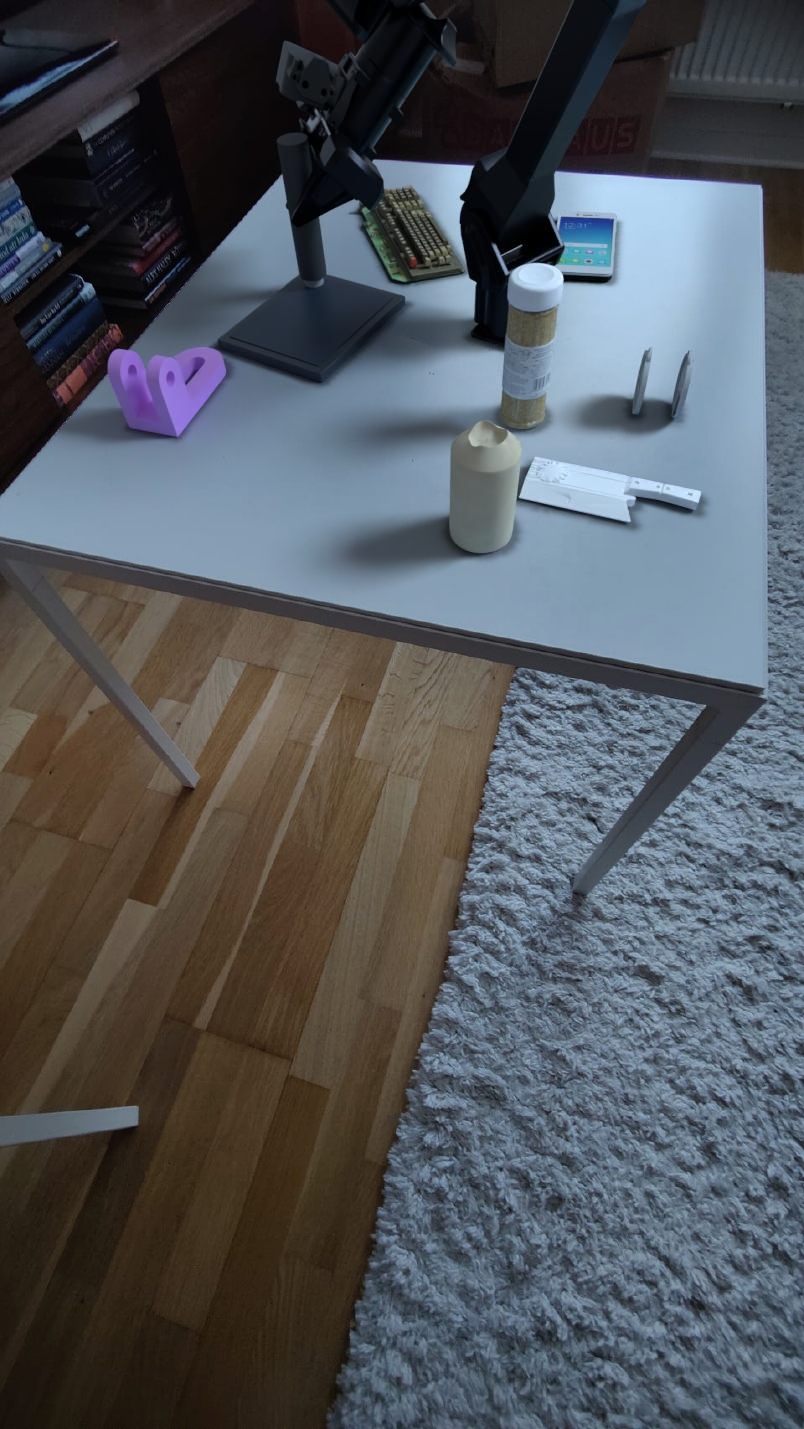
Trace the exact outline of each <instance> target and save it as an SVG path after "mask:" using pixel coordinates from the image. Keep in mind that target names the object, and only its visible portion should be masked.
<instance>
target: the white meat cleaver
mask: <svg viewBox="0 0 804 1429" xmlns="http://www.w3.org/2000/svg"><path fill="white" fill-rule="evenodd" d="M701 495H702V490H697V489H694V488H693V489H692V488H688V487H683V486H678V485H674V484H669V483H662V482H658V481H654V480H649V479H645V478H639V477H637V476H636V477H635V476H631V475H630V476H629V475H626V474H621V473H617V472H612V471H608V470H603V469H598V468H596V467H595V468H594V467H590V466H586V465H581V464H576V463H572V462H564V461H559V460H558V461H557V460H554V459H548V458H543V457H540V456H534V458H533V460H532V462H531V464H530V466H529V469H528V472H527V474H526V476H525V478H524V481H523V485H522V488H521V490H520V494H519V496H518V498H519V499H522V500H526V501H531V502H536V503H539V504H544V505H547V506H553V507H557V508H563V509H565V510H571V511H576V512H579V513H584V514H588V515H593V516H598V517H601V518H602V517H603V518H607V519H611V520H614V521H615V520H616V521H619V522H625V523H629V524H631V522H632V519H631V515H630V512H629V508H631V507H635V504H636V500H637V497H639V498H645V499H651V500H658V501H662V502H665V503H670V504H672V505H676V506H679V507H683V508H687V509H689V510H693V511H696V510H697V508H698V506H699V502H700V498H701Z"/></svg>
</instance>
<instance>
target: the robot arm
mask: <svg viewBox="0 0 804 1429" xmlns="http://www.w3.org/2000/svg"><path fill="white" fill-rule="evenodd" d="M325 1H326V3H327V4H328V5H329V7H330V8H331V9H332V10H333V12H334V13H335V14H336V15H337V17H338V18H339V19H340V20H341V21H342V23H343V24H344V25H345V26H346V28H347V29H348V30H349V31H350V33H351V34H352V36H354V37H355V39H357V40H359V41H364V42H363V43H362V44H361V47H360V48H359V50H358V51H357V53H356V55H354V53H353V52H351V51H350V52H349V53H345V54H344V55H343V56H342V58H341V60H340V61H339V63H338V64H337V63H336V62H335V63H334V62H333V61H331V60H328V59H327V58H326V57H324V56H322V55H319V54H317V53H315V52H313V51H310V50H309V49H306V48H304V47H302V46H299V45H298V44H295V43H293V42H291V41H288V40H284V41H283V43H282V48H281V52H280V58H279V63H278V68H277V72H276V78H275V83H276V84H277V85H278V86H279V90H278V91H279V92H280V94H281V95H282V97H284V98H286V99H288V100H290V101H293V102H295V103H296V105H297V107H298V109H299V110H300V111H301V112H302V113H305V112H307V113H308V114H310V117H309V118H308V120H307V122H305V120H303V119H302V118H300V117H299V120H298V122H299V127H300V133H303V134H305V135H307V136H308V141H309V148H310V155H311V162H312V172H311V175H310V177H309V179H308V181H307V183H306V185H305V187H304V190H303V192H302V194H301V196H300V198H299V200H298V203H297V205H296V207H295V209H294V212H293V214H292V217H291V219H290V218H289V221H290V220H291V223H292V224H293V225H295V226H296V227H297V228H300V227H301V226H303V225H305V224H307V223H309V222H311V221H312V220H314V219H316V218H318V217H319V218H320V217H321V216H324V215H325V214H328V213H329V212H331V211H333V210H335V209H336V208H339V207H342V206H344V205H345V204H347V203H350V202H351V201H358V202H360V203H362V204H363V205H364V206H365V207H366V208H367V209H368V210H370V211H372V212H373V211H374V209H375V208H376V206H377V205H378V203H379V202H380V201H381V199H382V198H383V196H384V189H385V184H384V178H383V177H382V175H381V173H380V171H379V169H378V166H377V165H376V164H375V163H374V162H373V161H374V160H375V159H376V158H377V157H378V156H377V155H378V153H377V151H376V150H375V148H374V147H375V145H376V144H377V143H378V141H379V139H380V138H381V137H382V135H383V134H384V132H385V131H386V129H387V127H388V126H389V125H390V123H391V122H392V121H393V123H394V124H395V125H396V126H398V125H399V123H400V122H401V120H402V119H403V117H404V113H403V112H402V111H401V107H402V105H403V104H404V102H405V101H406V99H407V98H408V97H409V95H410V93H411V92H412V91H413V89H414V87H415V86H416V84H417V83H418V81H419V80H420V79H421V77H422V75H423V74H424V73H425V71H426V70H427V68H428V67H429V65H430V63H431V62H432V60H433V59H434V58H435V56H436V55H437V54H438V55H439V57H441V58H442V60H443V61H444V62H445V64H446V65H448V67H450V68H455V66H456V65H457V52H456V51H457V50H456V38H457V32H458V30H457V27H456V26H455V25H454V24H453V22H452V21H451V20H450V18H449V17H447V16H445V17H443V18H437V17H436V16H435V14H434V13H432V11H431V10H430V9H429V7H428V6H427V5H426V4H425V3H426V2H430V1H431V0H325ZM647 1H648V0H572V1H571V4H570V5H569V9H568V11H567V13H566V15H565V17H564V19H563V22H562V23H561V26H560V28H559V30H558V33H557V35H556V38H555V40H554V42H553V44H552V47H551V49H550V51H549V54H548V56H547V58H546V60H545V62H544V65H543V67H542V69H541V70H540V74H539V76H538V78H537V80H536V83H535V85H534V87H533V89H532V91H531V94H530V96H529V98H528V101H527V103H526V105H525V107H524V110H523V112H522V114H521V117H520V118H519V121H518V123H517V125H516V127H515V130H514V131H513V134H512V137H511V138H510V141H509V143H508V146H506V147H504V148H502V149H500V150H498V151H495V152H493V153H491V154H488V155H486V156H484V157H482V158H479V159H477V160H476V161H475V163H474V165H473V167H472V169H471V173H470V177H469V181H468V184H467V187H466V188H465V190H464V192H462V193H461V194H460V195H459V200H460V201H462V202H463V203H462V205H461V208H460V212H459V221H458V223H459V225H460V226H459V228H460V229H459V230H460V231H459V232H460V236H461V242H462V248H463V253H464V259H465V264H466V269H467V275H468V278H469V279H470V280H471V281H473V282H475V283H476V284H475V289H474V310H473V312H474V313H473V322H474V323H475V324H476V325H475V326H474V327H473V328H472V329H471V330H470V333H469V334H470V338H472V339H476V340H479V341H482V342H486V343H489V344H492V345H496V346H500V347H503V348H505V338H506V332H507V322H508V310H509V305H508V304H509V301H508V298H507V294H508V283H509V276H510V274H511V273H512V271H513V270H514V269H516V268H518V267H519V266H522V265H525V264H530V263H543V264H548V265H551V266H555V265H557V264H558V263H559V261H560V259H561V256H562V254H563V252H564V249H565V245H564V243H563V240H562V238H561V236H560V233H559V231H558V229H557V226H556V225H557V223H556V222H555V219H554V217H553V215H552V212H551V210H552V208H553V204H554V203H555V199H556V182H555V180H556V179H555V174H556V171H557V169H558V167H559V165H560V163H561V161H562V159H563V157H564V156H565V154H566V151H567V150H568V149H569V146H570V144H571V142H572V141H573V139H574V137H575V135H576V133H577V131H578V129H579V127H580V125H581V123H582V121H583V120H584V118H585V116H586V114H587V112H588V110H589V108H590V106H591V104H592V103H593V101H594V99H595V97H596V95H597V93H598V92H599V90H600V88H601V86H602V84H603V82H604V80H605V78H606V77H607V74H608V72H609V70H610V69H611V67H612V65H613V63H614V61H615V59H616V58H617V56H618V54H619V52H620V51H621V48H622V47H623V45H624V42H625V40H626V39H627V37H628V35H629V33H630V31H631V29H632V27H633V26H634V24H635V22H636V20H637V18H638V16H639V14H640V12H641V10H642V9H643V6H644V5H645V4H646V3H647ZM285 209H286V210H288V205H287V201H286V202H285ZM291 223H290V224H291Z"/></svg>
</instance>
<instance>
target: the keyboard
mask: <svg viewBox="0 0 804 1429" xmlns="http://www.w3.org/2000/svg"><path fill="white" fill-rule="evenodd" d="M358 204H359V208H358V210H359V212H360V214H362V216H363V219H365V221H364V222H363V223H362V226H363V227H364V230H365V231H366V233H367V234H368V237H369V239H370V241H371V244H372V245H373V246H374V249H375V250H376V252H377V255H378V256H379V258H380V261H381V263H382V264H383V265H384V267H385V270H386V272H387V274H388V275H389V277H390V278H391V279H392V280H395V281H398V282H402V283H405V284H408V283H411V282H416V281H420V280H421V281H422V280H428V279H432V278H438V277H445V276H451V275H459V274H464V273H466V269H465V267H464V266H463V264H462V263H461V261H460V260H459V258H458V256H457V255H456V254H455V252H454V250H453V247H452V245H450V244H449V240H448V238H447V237H446V235H445V233H444V232H443V231H442V229H441V227H440V225H439V223H438V222H437V221H436V219H435V218H434V216H433V215H432V214H431V213H430V212H429V211H428V210H427V209H426V207H425V203H424V201H423V200H422V199H421V198H420V195H419V193H418V192H417V190H416V189H415V188H414V187H413V185H406V186H402V188H401V187H396V188H384V196H383V198H382V199H381V201H380V202H379V203H378V205H377V206H376V208H375V209H374V211H373V212H372V211H370V210H368V209H367V208H366V207H365V206H364V205H363V204H362V203H361V202H360V201H358Z"/></svg>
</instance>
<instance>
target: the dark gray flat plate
mask: <svg viewBox="0 0 804 1429" xmlns="http://www.w3.org/2000/svg"><path fill="white" fill-rule="evenodd" d="M323 280H324V283H323V285H321V286H320V287H316V288H309V287H307V286H306V285H305V280H303V279H301V278H300V276H299V274H298V275H296V276H295V277H294V278H293V279H292V280H290V281H289V282H288V283H286V284H284V285H283V287H281V288H280V289H278V290H277V291H276V292H275V293H274V294H273V295H271V296H270V297H268V298H267V299H266V300H265V301H264V302H263V303H261V304H260V305H259V306H257V307H256V308H255V309H253V311H251V312H250V313H249V314H247V315H246V316H244V317H243V318H242V319H241V320H240V321H239V322H237V323H236V324H235V325H234V326H232V327H231V328H230V329H228V330H227V331H226V332H225V333H224V334H223V335H221V336H220V337H219V338H218V339H217V344H218V347H219V349H222V350H225V351H227V352H231V353H233V354H236V355H239V356H242V357H245V358H249V359H251V360H254V361H257V362H260V363H263V364H266V365H269V366H272V367H275V368H277V369H281V370H284V371H287V372H290V373H292V374H296V375H298V376H302V377H305V378H308V379H311V380H313V381H316V382H320V383H324V381H326V380H327V379H328V378H329V377H330V376H331V375H332V374H333V373H335V371H336V370H337V369H338V368H339V367H340V366H342V364H344V363H345V362H346V361H347V360H348V359H349V358H351V356H352V355H354V354H355V353H356V352H357V351H358V350H359V349H360V348H361V347H362V346H363V345H364V344H365V343H366V342H367V341H368V340H370V339H371V338H372V337H373V336H374V335H375V334H376V333H377V332H378V331H379V330H380V329H381V328H383V326H385V325H386V324H387V323H388V322H389V321H390V320H391V319H392V318H393V317H394V316H395V315H397V313H398V312H400V310H402V308H404V307H405V306H406V296H405V295H403V294H399V293H396V292H392V291H388V290H385V289H381V288H379V287H378V288H377V287H374V286H370V285H367V284H362V283H360V282H356V281H352V280H349V279H345V278H341V277H338V276H334V275H331V274H327V273H326V275H325V277H323Z"/></svg>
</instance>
